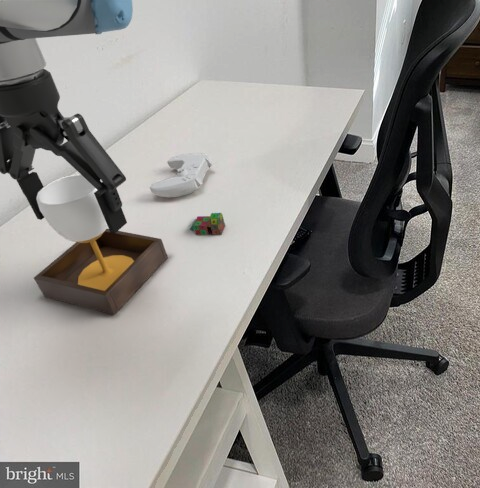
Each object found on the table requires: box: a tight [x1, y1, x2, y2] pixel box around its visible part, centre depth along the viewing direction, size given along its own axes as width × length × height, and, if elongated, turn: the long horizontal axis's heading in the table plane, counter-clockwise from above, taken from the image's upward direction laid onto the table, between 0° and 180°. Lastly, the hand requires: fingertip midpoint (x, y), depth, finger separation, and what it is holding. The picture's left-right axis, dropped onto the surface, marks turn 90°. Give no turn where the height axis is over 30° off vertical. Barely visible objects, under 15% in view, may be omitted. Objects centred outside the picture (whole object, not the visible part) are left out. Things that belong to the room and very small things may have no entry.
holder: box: [33, 228, 169, 316], centre depth 76 cm, size 14×14×4 cm
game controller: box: [149, 152, 214, 198], centre depth 99 cm, size 14×4×10 cm
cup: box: [36, 173, 134, 291], centre depth 72 cm, size 9×9×16 cm
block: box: [190, 212, 226, 236], centre depth 85 cm, size 6×4×3 cm
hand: (81, 221), depth 71 cm, fingers open, 13 cm apart
